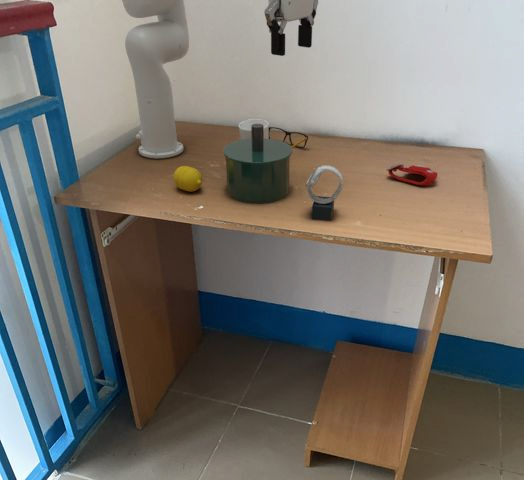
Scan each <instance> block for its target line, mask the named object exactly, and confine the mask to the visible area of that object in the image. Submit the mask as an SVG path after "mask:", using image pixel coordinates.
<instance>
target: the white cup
mask: <svg viewBox="0 0 524 480" xmlns="http://www.w3.org/2000/svg"><path fill="white" fill-rule="evenodd" d="M253 124H262V125H263V126H264V138H267V139H269V136H270V132H269V127H270V126H269V125H270V123H269V122H268V121H267V120H265V119H262V118H249V119H245V120H243V121H240V122H239V123H238V134H239V140H243V139H251V138H252V135H251V125H253Z"/></svg>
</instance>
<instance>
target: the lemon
mask: <svg viewBox="0 0 524 480" xmlns="http://www.w3.org/2000/svg"><path fill="white" fill-rule="evenodd" d="M173 182H174V184H175V185H176V187H177V188H179V189H180V190H182V191H186V192H189V193H191V192H196V191H198V190H199V189H200V188H201V186H202V183H203V177H202V174H201V172H200V171H199V170H197V169H196V168H194V167H191V166H188V165H181V166H179V167H178V168H176V169H175V171H174V173H173Z"/></svg>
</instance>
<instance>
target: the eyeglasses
mask: <svg viewBox="0 0 524 480" xmlns="http://www.w3.org/2000/svg"><path fill="white" fill-rule="evenodd" d="M271 129H272V130H273V129H276V130H279V131H282V132H283V133H284V137H283V141H282V142H285V141H286V139H287V136H288V140H289V142H290V146H291V148H292V149H293V148H294V147H295V148H299V149H303V148H305V147H306V146H307V143H308V139H309V136H308V135H307V134H305V133H302V132H298V131H287V130H284V129H283V128H281V127H280V128H279V127H275V126H269V133H270V131H271ZM293 134H298V135H302V136H304V138H302V139H301V140H299V141H297V142H296V143H294V144H293V141H292V135H293ZM269 139H271V135H269ZM302 143H304V144H303V146H299V145H300V144H302Z"/></svg>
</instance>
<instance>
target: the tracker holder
mask: <svg viewBox="0 0 524 480" xmlns="http://www.w3.org/2000/svg"><path fill="white" fill-rule="evenodd" d="M404 166H405V164H403V163H398V164H392V165H390V166H388V167H387V168H385V170H386V171H387V172H388V175H389V176H390V177H392V178H394V179H396V180H398V181H401V182H405V183H409V184H413V185H415V186H416V185H417V186H424V187H425V186H430V185H431V184H433V183H434V182H435V181H436V179H437V178H438V176H439V175H438V172H436V171H433V170H432V169H431V168H430V167H427V166H425V165H420V164H419V165H416V164H415V165H409V166H408V167H404ZM397 171H400V172H403V173H408V174H412V175H413V174H415V175H419V176H423V177H424V178H425V179H424V180H423V181H421V182H420V181H416V180H412V179H408V178H404V177H402V176H401V177H400V176H398V175H396V174H394V173H395V172H397Z"/></svg>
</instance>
